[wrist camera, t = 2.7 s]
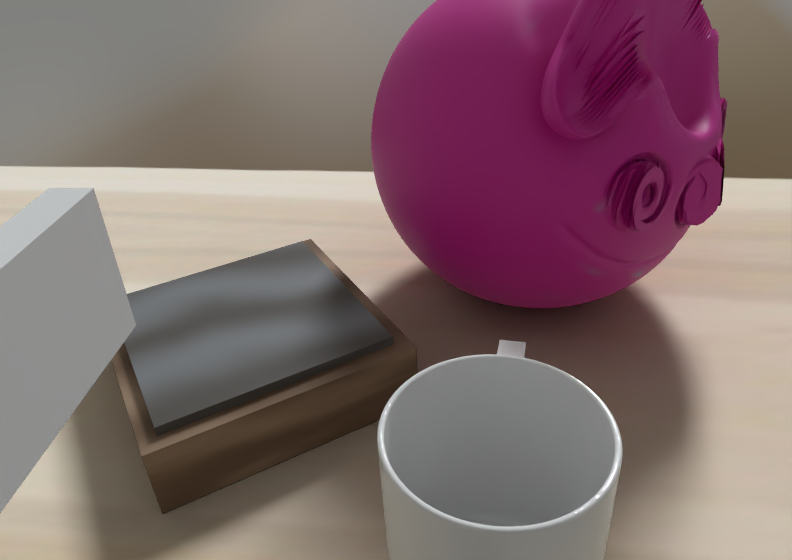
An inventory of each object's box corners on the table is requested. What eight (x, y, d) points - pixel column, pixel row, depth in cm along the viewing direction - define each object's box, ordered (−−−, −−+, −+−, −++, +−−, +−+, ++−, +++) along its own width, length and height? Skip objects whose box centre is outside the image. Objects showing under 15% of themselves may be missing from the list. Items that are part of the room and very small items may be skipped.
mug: (591, 731, 26) (630, 554, 20) (371, 683, 28) (347, 508, 22) (589, 488, 36) (615, 320, 30) (426, 465, 38) (419, 302, 32)
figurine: (625, 432, 39) (711, -38, 25) (324, 302, 52) (276, -54, 39) (738, 259, 54) (830, -94, 41) (483, 192, 67) (489, -92, 54)
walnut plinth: (418, 402, 42) (415, 339, 39) (162, 514, 36) (138, 448, 33) (317, 286, 54) (309, 232, 51) (112, 355, 48) (91, 297, 45)
